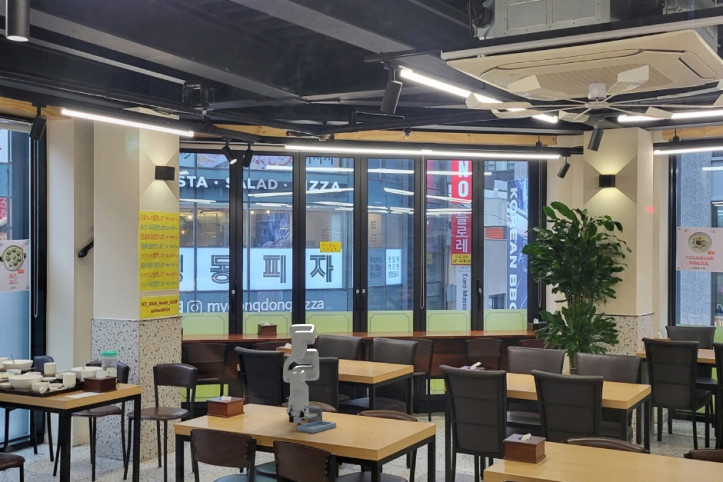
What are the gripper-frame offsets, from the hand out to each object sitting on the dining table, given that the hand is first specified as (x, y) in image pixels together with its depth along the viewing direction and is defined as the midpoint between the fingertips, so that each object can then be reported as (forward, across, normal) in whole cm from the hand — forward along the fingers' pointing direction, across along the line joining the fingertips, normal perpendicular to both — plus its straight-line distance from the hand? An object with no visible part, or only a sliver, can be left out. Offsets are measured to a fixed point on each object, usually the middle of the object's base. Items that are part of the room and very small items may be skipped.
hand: (296, 421), depth 483 cm
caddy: (+4, -8, 0) cm, 9 cm away
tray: (+4, -3, +13) cm, 14 cm away
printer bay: (+3, -12, 0) cm, 12 cm away
